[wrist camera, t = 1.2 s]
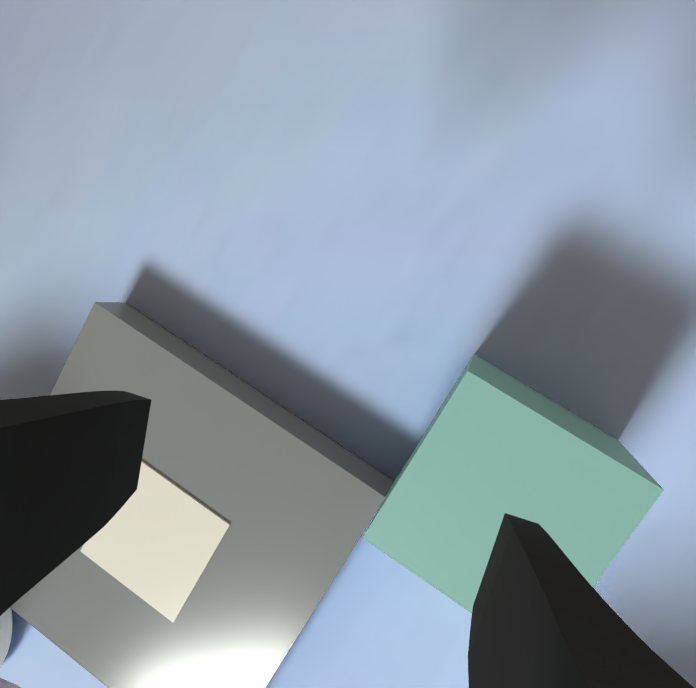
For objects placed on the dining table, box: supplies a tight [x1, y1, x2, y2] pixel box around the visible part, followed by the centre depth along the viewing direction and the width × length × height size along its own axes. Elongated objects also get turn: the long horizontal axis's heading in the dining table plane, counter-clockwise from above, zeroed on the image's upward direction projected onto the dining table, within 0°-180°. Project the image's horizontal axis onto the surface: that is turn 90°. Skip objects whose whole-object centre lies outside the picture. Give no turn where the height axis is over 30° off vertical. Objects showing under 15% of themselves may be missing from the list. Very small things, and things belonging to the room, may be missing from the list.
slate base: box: [10, 302, 394, 688], centre depth 25 cm, size 14×14×2 cm
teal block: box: [363, 354, 663, 613], centre depth 20 cm, size 6×6×6 cm
